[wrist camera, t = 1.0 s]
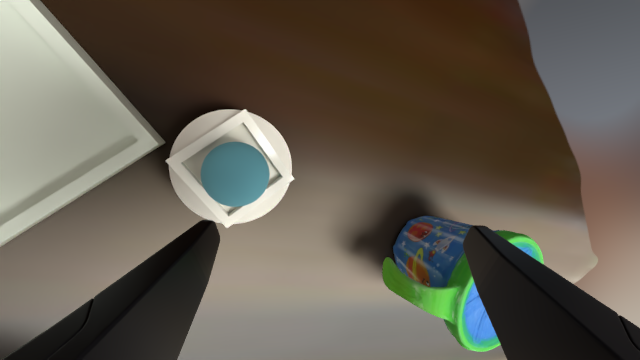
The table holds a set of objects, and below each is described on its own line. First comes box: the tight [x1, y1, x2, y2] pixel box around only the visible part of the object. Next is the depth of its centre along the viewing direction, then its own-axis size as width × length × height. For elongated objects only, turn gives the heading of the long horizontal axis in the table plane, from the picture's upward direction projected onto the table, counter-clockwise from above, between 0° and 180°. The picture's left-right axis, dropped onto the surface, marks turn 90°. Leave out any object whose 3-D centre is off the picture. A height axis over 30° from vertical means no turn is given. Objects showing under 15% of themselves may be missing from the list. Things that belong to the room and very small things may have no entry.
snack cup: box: [382, 216, 543, 352], centre depth 25 cm, size 16×10×10 cm
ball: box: [201, 142, 270, 207], centre depth 15 cm, size 4×4×4 cm
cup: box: [165, 109, 294, 228], centre depth 18 cm, size 8×8×4 cm
